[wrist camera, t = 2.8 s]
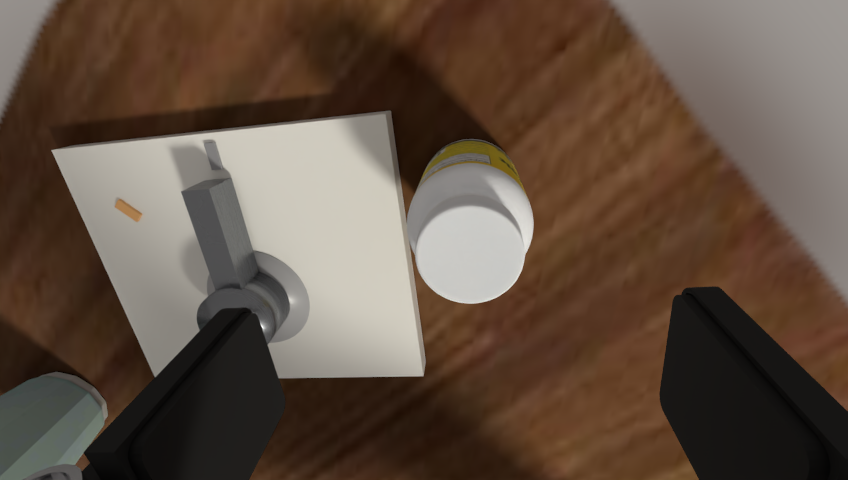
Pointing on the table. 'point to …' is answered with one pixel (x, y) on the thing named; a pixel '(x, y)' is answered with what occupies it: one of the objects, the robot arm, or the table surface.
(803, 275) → the table surface
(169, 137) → the dial plate
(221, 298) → the grey lever handle
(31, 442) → the disposable coffee cup
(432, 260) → the supplement bottle
